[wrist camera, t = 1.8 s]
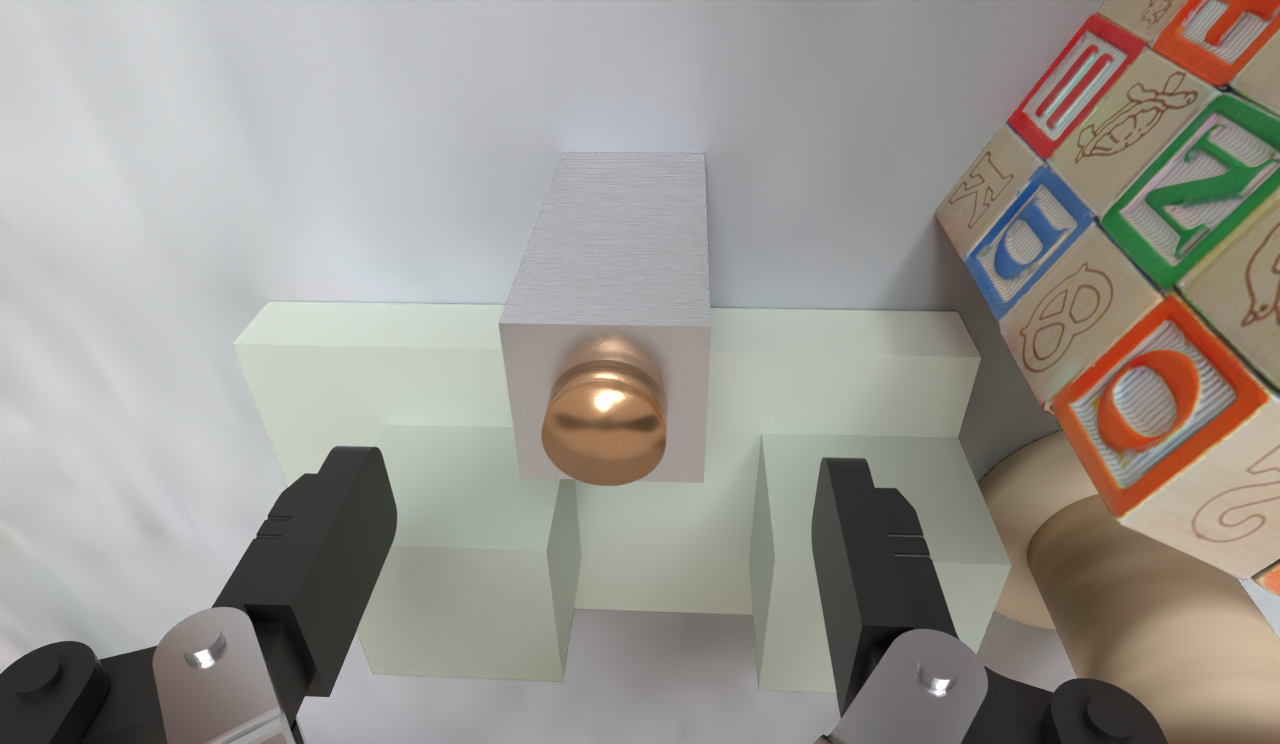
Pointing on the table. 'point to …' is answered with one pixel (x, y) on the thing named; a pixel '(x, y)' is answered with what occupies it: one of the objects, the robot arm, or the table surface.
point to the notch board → (631, 513)
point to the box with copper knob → (613, 323)
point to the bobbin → (1132, 604)
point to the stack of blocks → (1149, 266)
